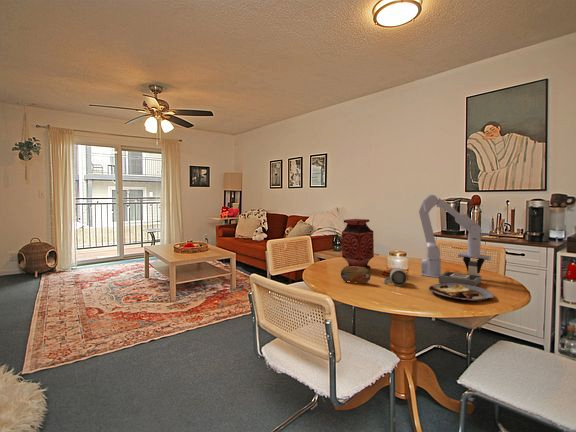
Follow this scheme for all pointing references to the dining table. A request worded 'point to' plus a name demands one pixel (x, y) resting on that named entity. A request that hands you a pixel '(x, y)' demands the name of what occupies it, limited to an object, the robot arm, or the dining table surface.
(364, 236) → the vase
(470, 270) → the block
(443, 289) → the food plate
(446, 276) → the caddy
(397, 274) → the ceramic mug
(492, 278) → the dining table surface
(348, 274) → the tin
